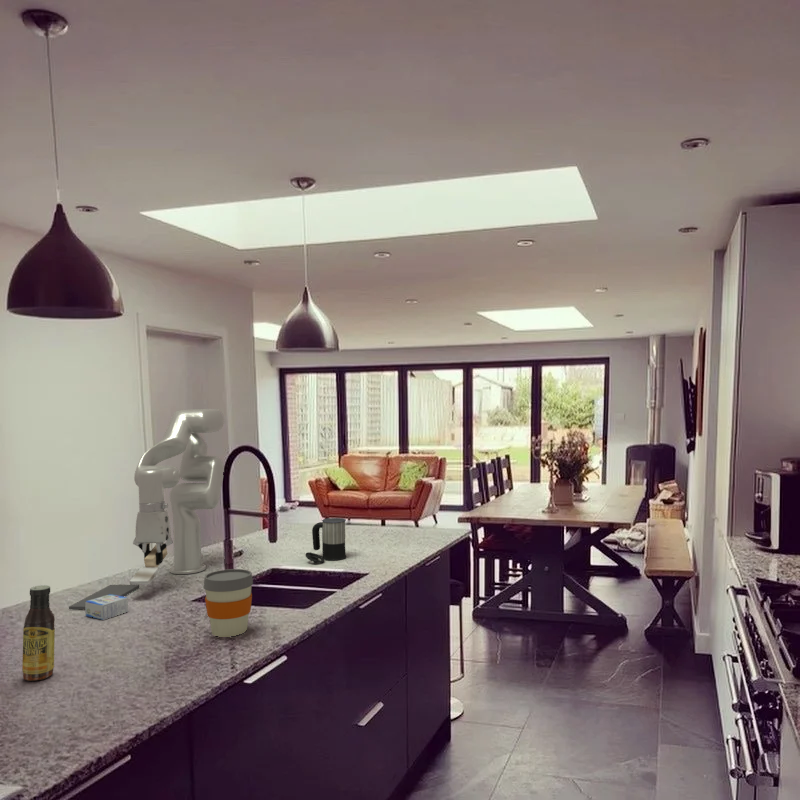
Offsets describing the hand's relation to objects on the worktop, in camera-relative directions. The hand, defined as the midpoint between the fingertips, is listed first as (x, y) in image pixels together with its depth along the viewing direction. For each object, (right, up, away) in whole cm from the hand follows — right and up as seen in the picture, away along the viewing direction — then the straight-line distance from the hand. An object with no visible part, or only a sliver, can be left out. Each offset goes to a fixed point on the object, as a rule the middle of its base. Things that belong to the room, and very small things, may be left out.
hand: (153, 563), depth 218 cm
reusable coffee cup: (+35, -8, -41) cm, 54 cm away
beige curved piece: (0, -1, -1) cm, 2 cm away
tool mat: (-12, -9, -7) cm, 17 cm away
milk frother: (+52, -8, +38) cm, 65 cm away
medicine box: (-3, -7, -20) cm, 21 cm away
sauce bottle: (-1, -9, -68) cm, 69 cm away
